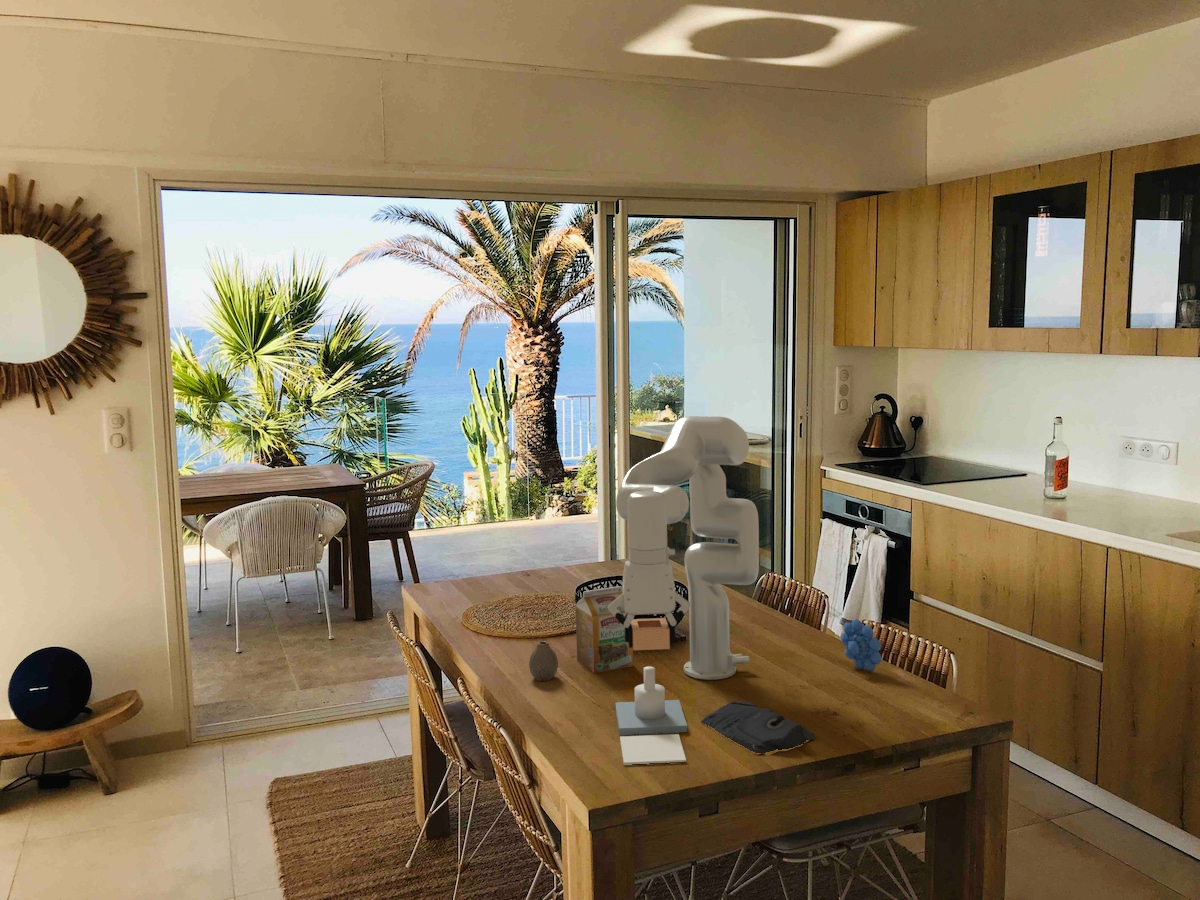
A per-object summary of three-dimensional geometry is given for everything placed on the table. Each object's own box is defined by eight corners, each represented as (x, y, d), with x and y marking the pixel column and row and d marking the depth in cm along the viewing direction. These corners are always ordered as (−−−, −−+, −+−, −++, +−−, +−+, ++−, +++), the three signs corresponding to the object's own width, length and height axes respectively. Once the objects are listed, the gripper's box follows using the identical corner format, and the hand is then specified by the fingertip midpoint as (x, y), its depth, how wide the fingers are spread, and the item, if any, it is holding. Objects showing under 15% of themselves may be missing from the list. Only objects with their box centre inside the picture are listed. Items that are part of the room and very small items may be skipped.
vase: (554, 684, 234) (553, 648, 233) (526, 682, 236) (524, 646, 234) (561, 673, 241) (560, 638, 240) (534, 672, 242) (532, 637, 241)
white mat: (678, 736, 203) (678, 734, 202) (686, 762, 191) (686, 759, 191) (620, 739, 202) (619, 736, 202) (623, 765, 190) (623, 762, 190)
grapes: (829, 667, 240) (829, 619, 239) (847, 660, 245) (848, 613, 243) (869, 679, 231) (869, 630, 230) (887, 673, 235) (887, 624, 234)
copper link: (665, 637, 197) (665, 617, 197) (669, 648, 190) (669, 628, 190) (630, 638, 197) (630, 619, 196) (633, 650, 190) (632, 630, 189)
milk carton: (594, 673, 241) (591, 596, 238) (577, 660, 250) (574, 586, 248) (633, 665, 245) (631, 591, 243) (615, 653, 255) (613, 581, 252)
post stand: (679, 706, 218) (678, 656, 217) (687, 732, 205) (686, 678, 203) (615, 709, 218) (614, 658, 216) (619, 735, 204) (618, 681, 203)
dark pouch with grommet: (751, 708, 218) (751, 687, 217) (821, 743, 199) (822, 720, 198) (695, 723, 210) (694, 702, 210) (762, 761, 191) (762, 738, 191)
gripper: (690, 549, 195) (691, 637, 198) (602, 552, 195) (604, 640, 197) (695, 558, 188) (696, 649, 190) (603, 561, 187) (606, 652, 190)
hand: (649, 644), depth 194 cm, fingers closed on copper link, 7 cm apart
